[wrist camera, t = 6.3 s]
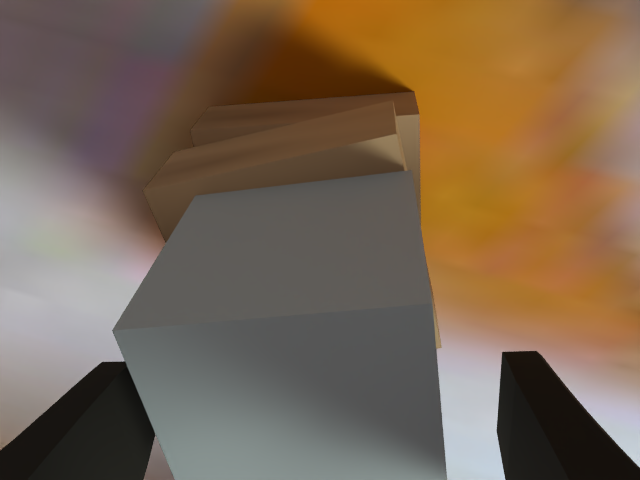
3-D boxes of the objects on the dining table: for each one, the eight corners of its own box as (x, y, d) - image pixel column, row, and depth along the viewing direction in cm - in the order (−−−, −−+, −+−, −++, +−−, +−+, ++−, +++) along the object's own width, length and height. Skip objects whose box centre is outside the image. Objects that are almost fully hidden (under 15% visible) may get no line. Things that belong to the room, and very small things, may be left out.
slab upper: (432, 292, 17) (441, 348, 15) (244, 324, 18) (227, 379, 16) (392, 99, 15) (396, 134, 12) (174, 152, 16) (142, 190, 14)
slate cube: (427, 345, 15) (450, 520, 11) (243, 359, 16) (195, 528, 12) (411, 170, 13) (432, 303, 8) (195, 195, 14) (112, 330, 9)
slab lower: (416, 262, 20) (421, 306, 18) (243, 269, 20) (228, 312, 18) (413, 87, 17) (419, 114, 15) (212, 102, 18) (190, 130, 15)
